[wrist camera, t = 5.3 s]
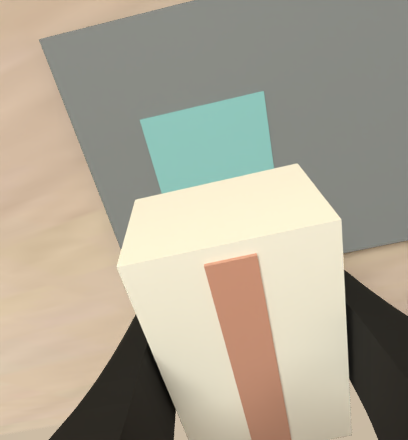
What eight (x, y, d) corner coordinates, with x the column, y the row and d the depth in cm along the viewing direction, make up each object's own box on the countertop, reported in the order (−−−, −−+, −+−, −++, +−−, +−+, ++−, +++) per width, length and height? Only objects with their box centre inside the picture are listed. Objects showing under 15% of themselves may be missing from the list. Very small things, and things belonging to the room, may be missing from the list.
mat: (522, -82, 15) (537, -86, 14) (474, 220, 21) (483, 226, 21) (43, 38, 16) (37, 39, 15) (139, 288, 22) (138, 295, 22)
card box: (316, 348, 15) (353, 438, 12) (195, 372, 15) (197, 465, 12) (297, 163, 11) (342, 221, 8) (135, 199, 11) (115, 270, 8)
